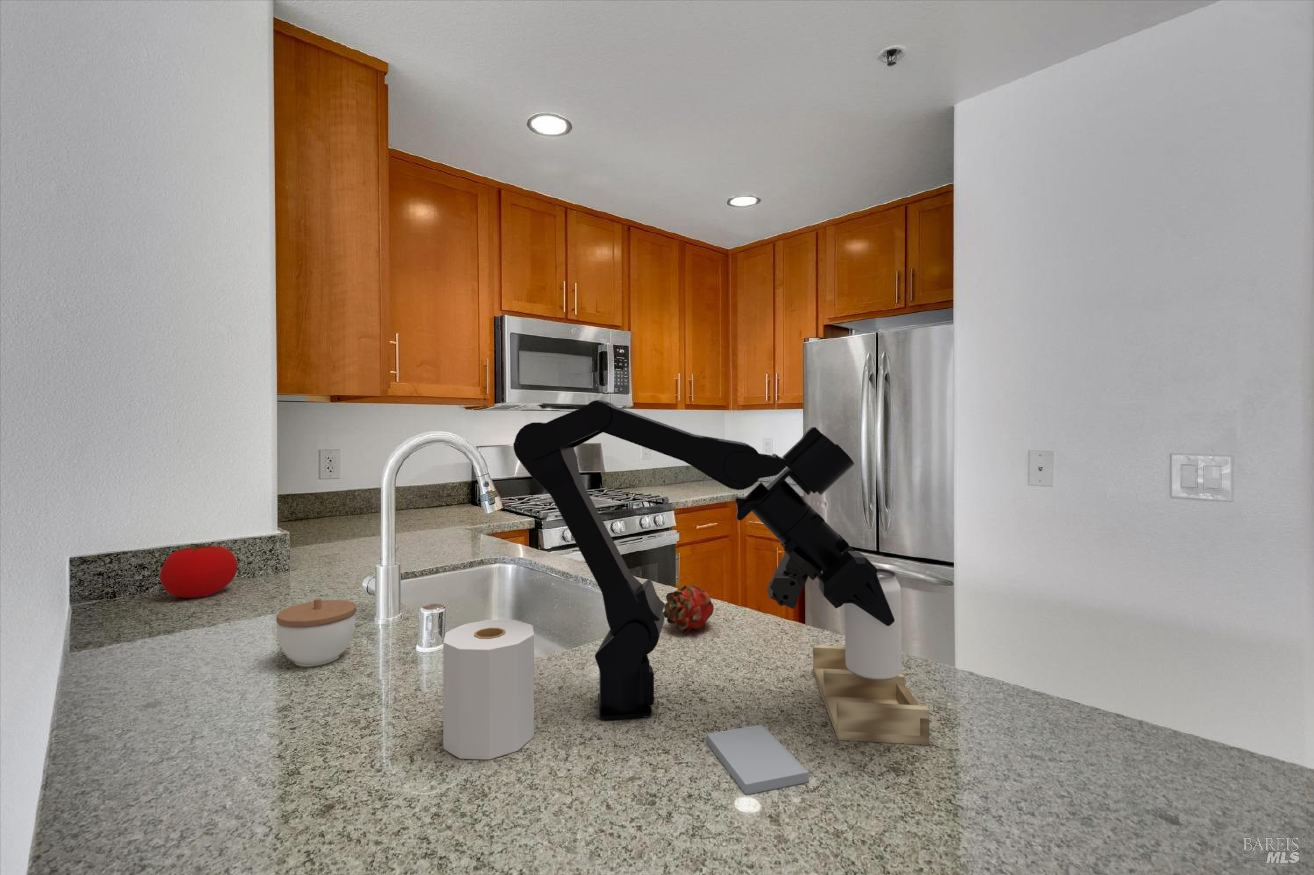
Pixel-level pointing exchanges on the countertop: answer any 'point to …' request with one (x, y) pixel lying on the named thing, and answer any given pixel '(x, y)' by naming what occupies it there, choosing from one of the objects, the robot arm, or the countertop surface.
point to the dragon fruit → (688, 608)
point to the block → (756, 759)
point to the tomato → (198, 571)
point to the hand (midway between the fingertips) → (883, 614)
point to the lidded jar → (316, 631)
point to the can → (875, 636)
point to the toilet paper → (488, 688)
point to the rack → (867, 703)
